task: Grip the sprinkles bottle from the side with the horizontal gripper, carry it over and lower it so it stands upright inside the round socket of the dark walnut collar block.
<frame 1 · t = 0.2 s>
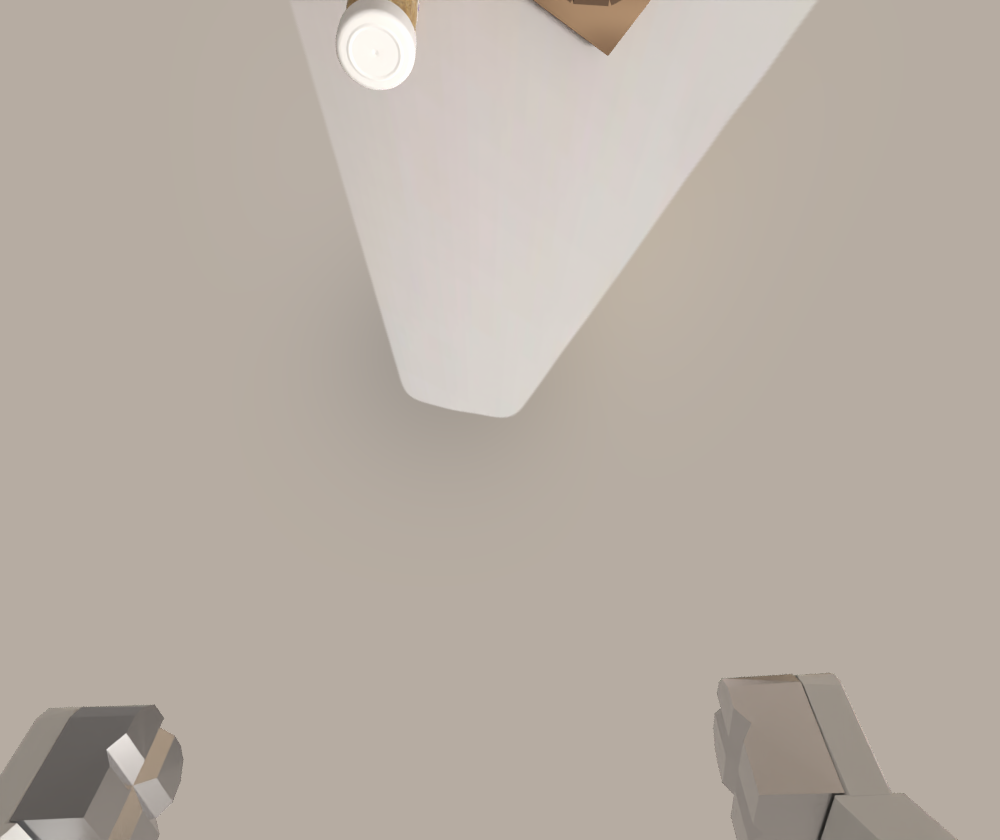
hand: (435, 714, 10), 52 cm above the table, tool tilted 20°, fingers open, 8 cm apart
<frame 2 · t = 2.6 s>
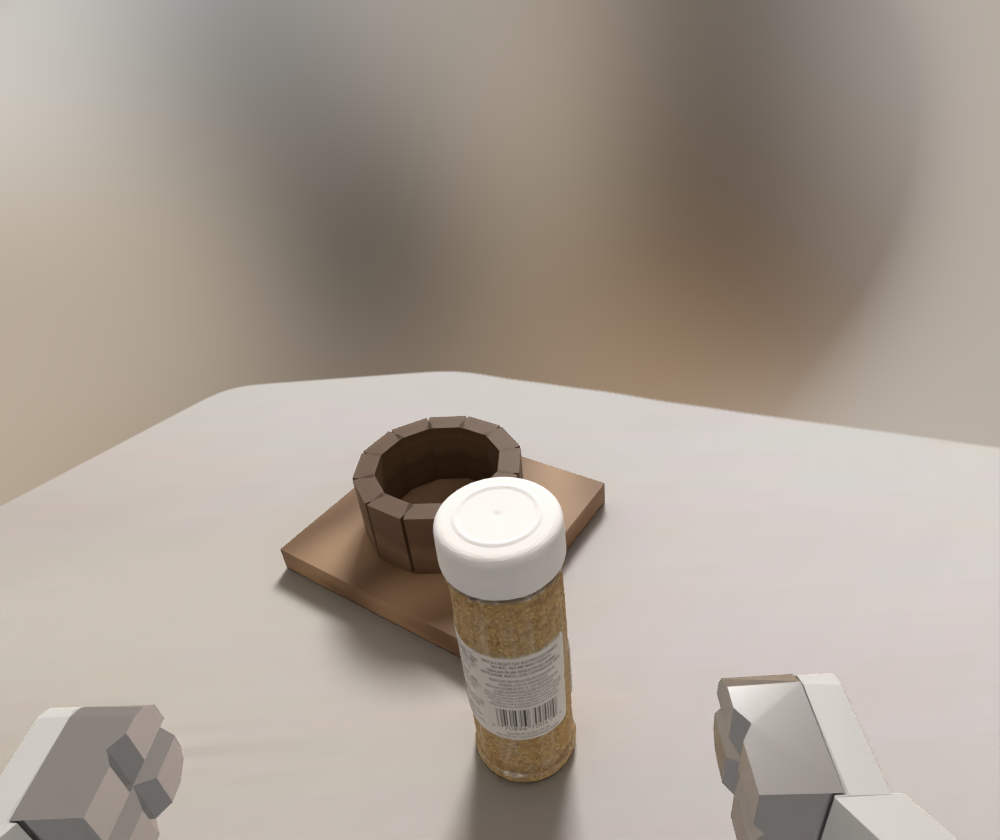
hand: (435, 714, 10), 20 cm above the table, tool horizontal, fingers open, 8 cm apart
walnut collar block: (450, 533, 43), on the table
sprinkles bottle: (525, 740, 31), on the table
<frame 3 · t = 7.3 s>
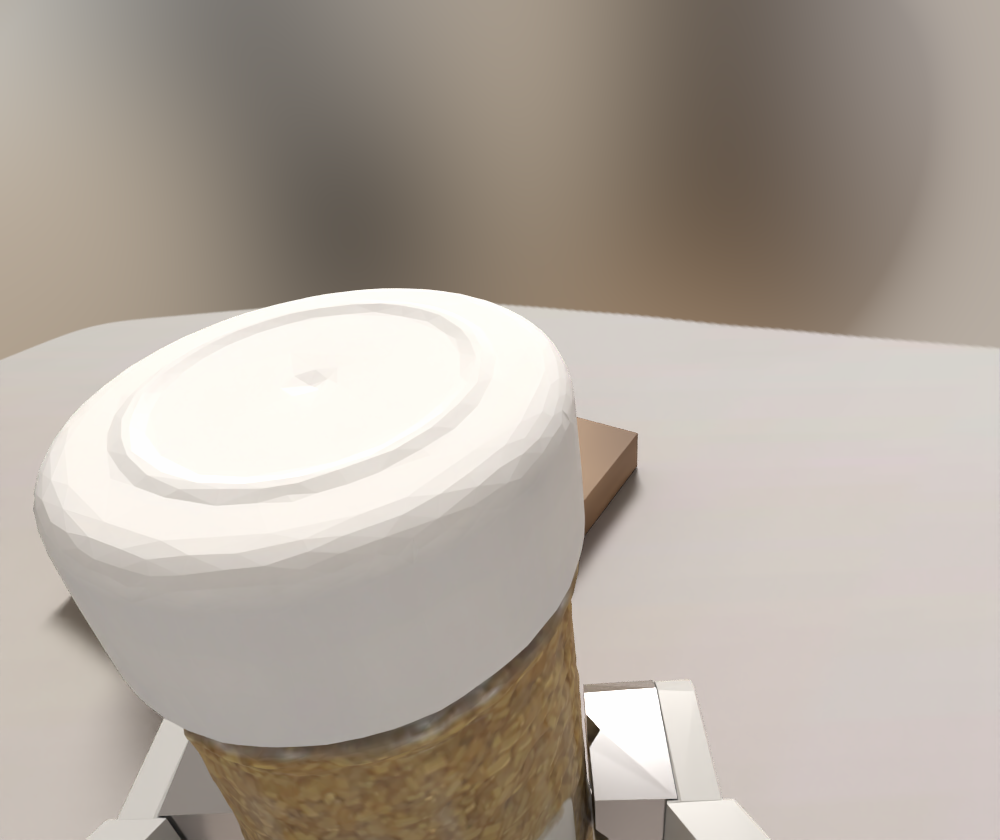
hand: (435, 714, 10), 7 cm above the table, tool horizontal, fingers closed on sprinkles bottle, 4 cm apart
walnut collar block: (373, 521, 25), on the table
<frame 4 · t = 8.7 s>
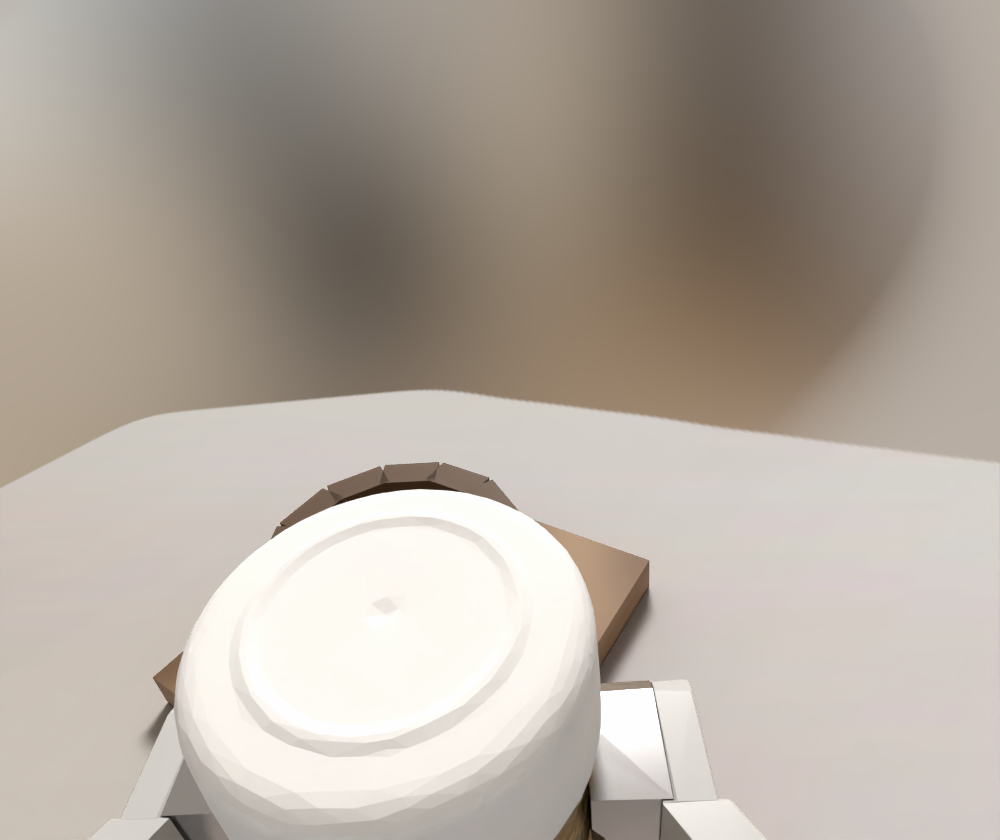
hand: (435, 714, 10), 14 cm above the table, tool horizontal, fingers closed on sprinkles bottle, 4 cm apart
walnut collar block: (417, 641, 28), on the table
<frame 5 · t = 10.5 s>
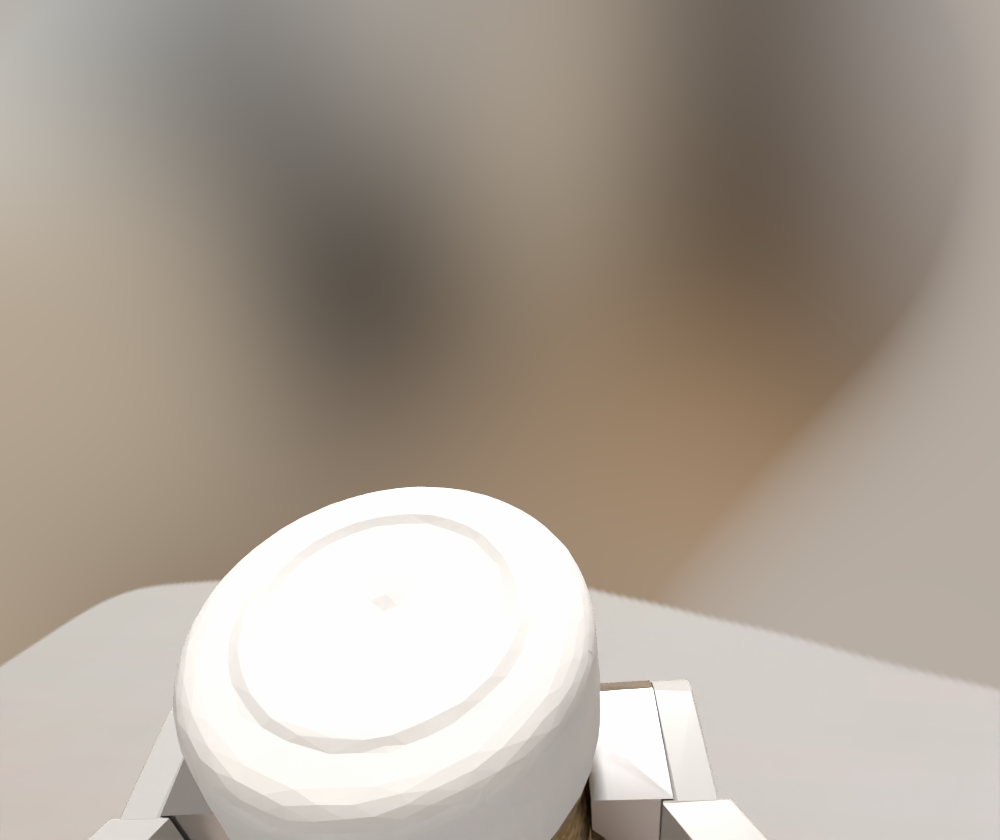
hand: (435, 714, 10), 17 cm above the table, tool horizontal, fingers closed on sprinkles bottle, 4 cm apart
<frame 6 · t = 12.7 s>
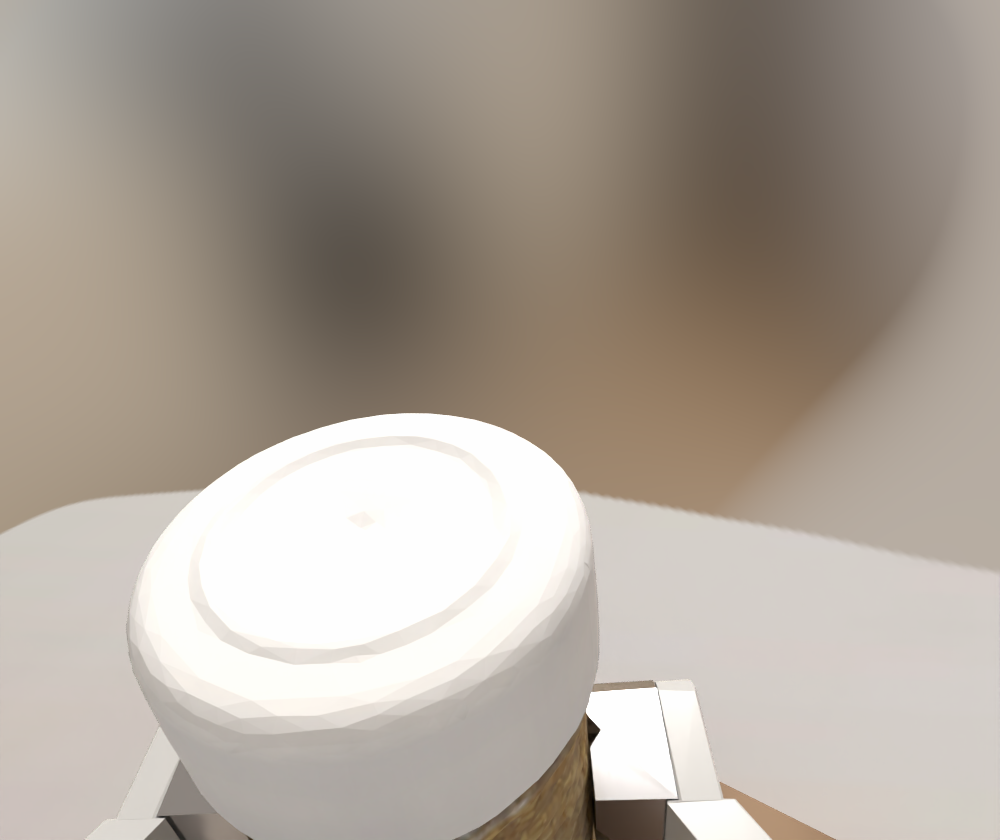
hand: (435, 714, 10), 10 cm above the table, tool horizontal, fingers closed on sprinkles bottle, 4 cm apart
when the fingers open (10 cm above the table, at t = 12.7 s): sprinkles bottle stays where it is, resting on walnut collar block.
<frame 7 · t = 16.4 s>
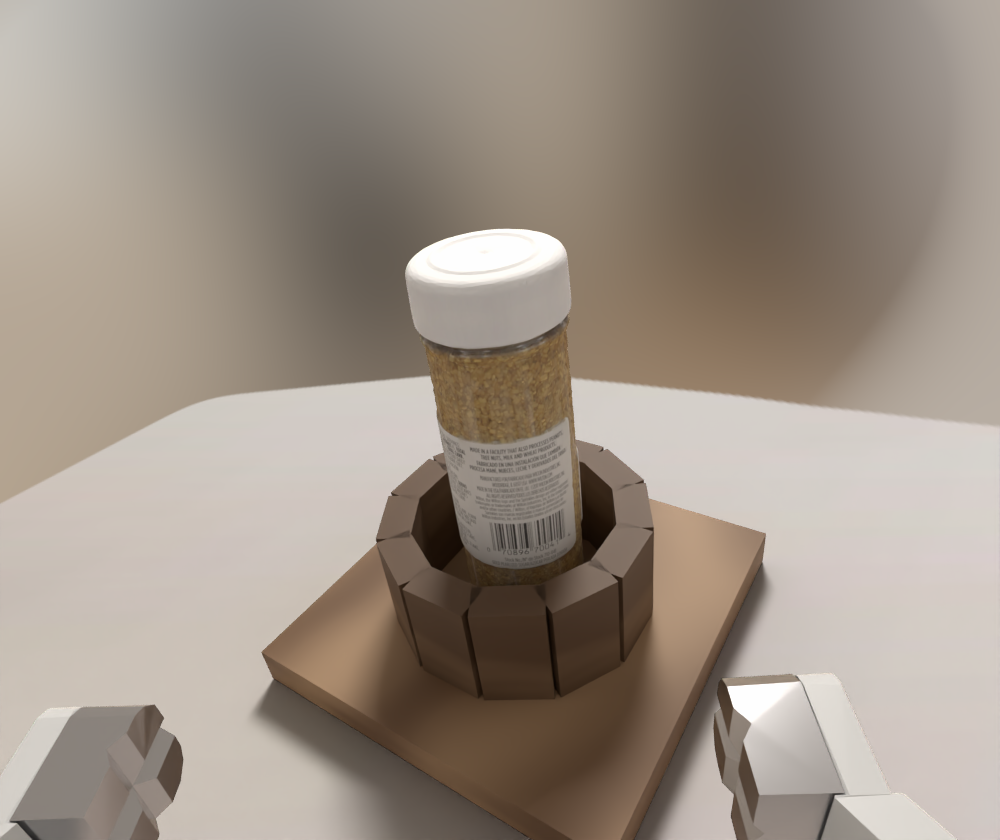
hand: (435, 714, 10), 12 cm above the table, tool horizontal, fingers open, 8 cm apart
walnut collar block: (527, 617, 27), on the table
sprinkles bottle: (528, 594, 27), point 1 cm above the table, touching walnut collar block
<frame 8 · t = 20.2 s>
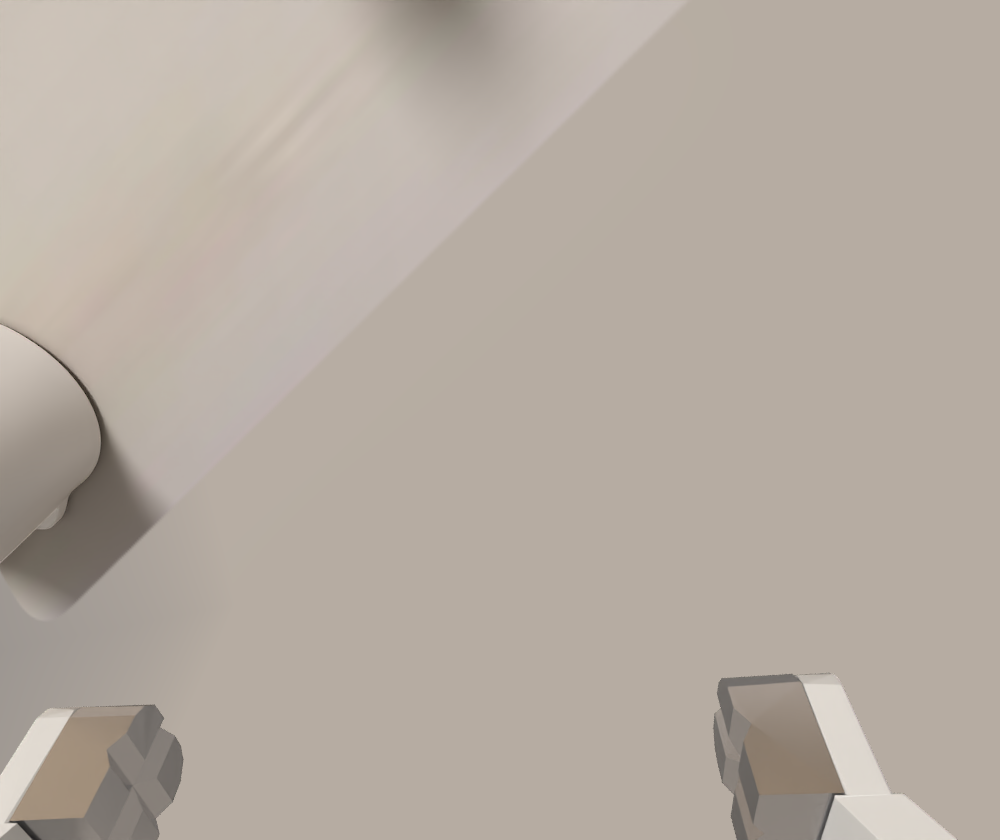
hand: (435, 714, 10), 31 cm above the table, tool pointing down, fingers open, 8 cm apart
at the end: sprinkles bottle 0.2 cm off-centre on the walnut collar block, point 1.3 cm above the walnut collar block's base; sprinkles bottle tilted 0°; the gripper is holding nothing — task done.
